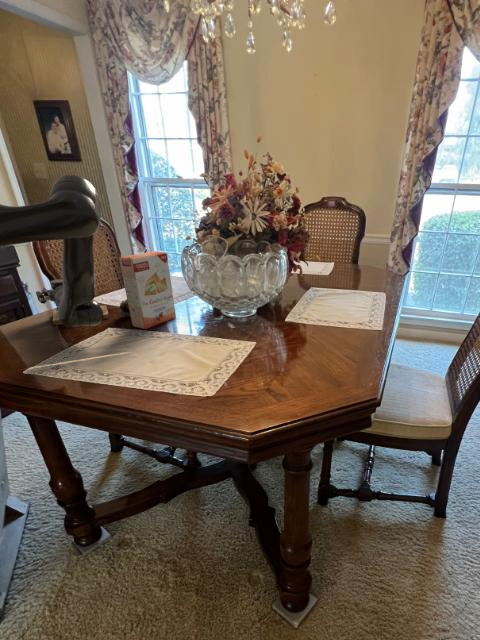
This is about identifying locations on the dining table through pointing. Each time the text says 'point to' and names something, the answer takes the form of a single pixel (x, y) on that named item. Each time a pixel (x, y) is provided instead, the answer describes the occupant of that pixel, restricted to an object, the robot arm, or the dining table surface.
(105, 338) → the dining table surface
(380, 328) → the dining table surface
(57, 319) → the grid board
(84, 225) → the robot arm
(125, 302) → the bison figurine
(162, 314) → the cracker box
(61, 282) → the black piece
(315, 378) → the dining table surface
